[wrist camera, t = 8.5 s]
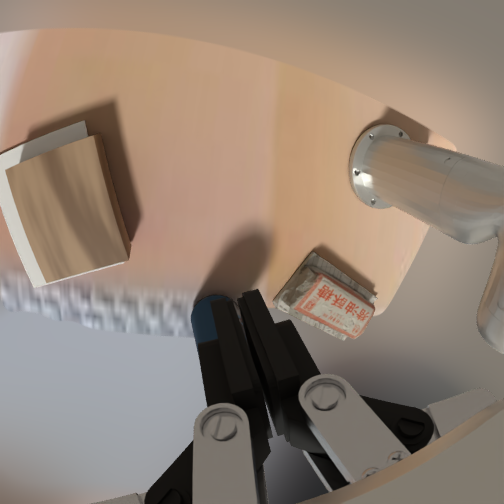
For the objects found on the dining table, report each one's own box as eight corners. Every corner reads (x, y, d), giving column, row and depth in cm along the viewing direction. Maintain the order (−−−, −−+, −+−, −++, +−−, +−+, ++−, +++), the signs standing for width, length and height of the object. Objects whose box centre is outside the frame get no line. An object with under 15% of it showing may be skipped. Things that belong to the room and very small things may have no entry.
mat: (84, 120, 28) (84, 120, 28) (124, 261, 37) (124, 262, 37) (-11, 160, 26) (-13, 161, 26) (35, 286, 34) (34, 288, 34)
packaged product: (280, 320, 42) (326, 263, 40) (268, 301, 46) (310, 248, 45) (352, 352, 51) (390, 309, 49) (339, 336, 55) (374, 294, 53)
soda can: (183, 325, 43) (195, 387, 33) (199, 285, 41) (216, 344, 31) (226, 333, 46) (248, 393, 36) (245, 296, 44) (273, 353, 34)
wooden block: (93, 135, 26) (4, 169, 24) (128, 260, 32) (46, 283, 30) (100, 132, 29) (19, 163, 27) (131, 245, 36) (54, 267, 34)
